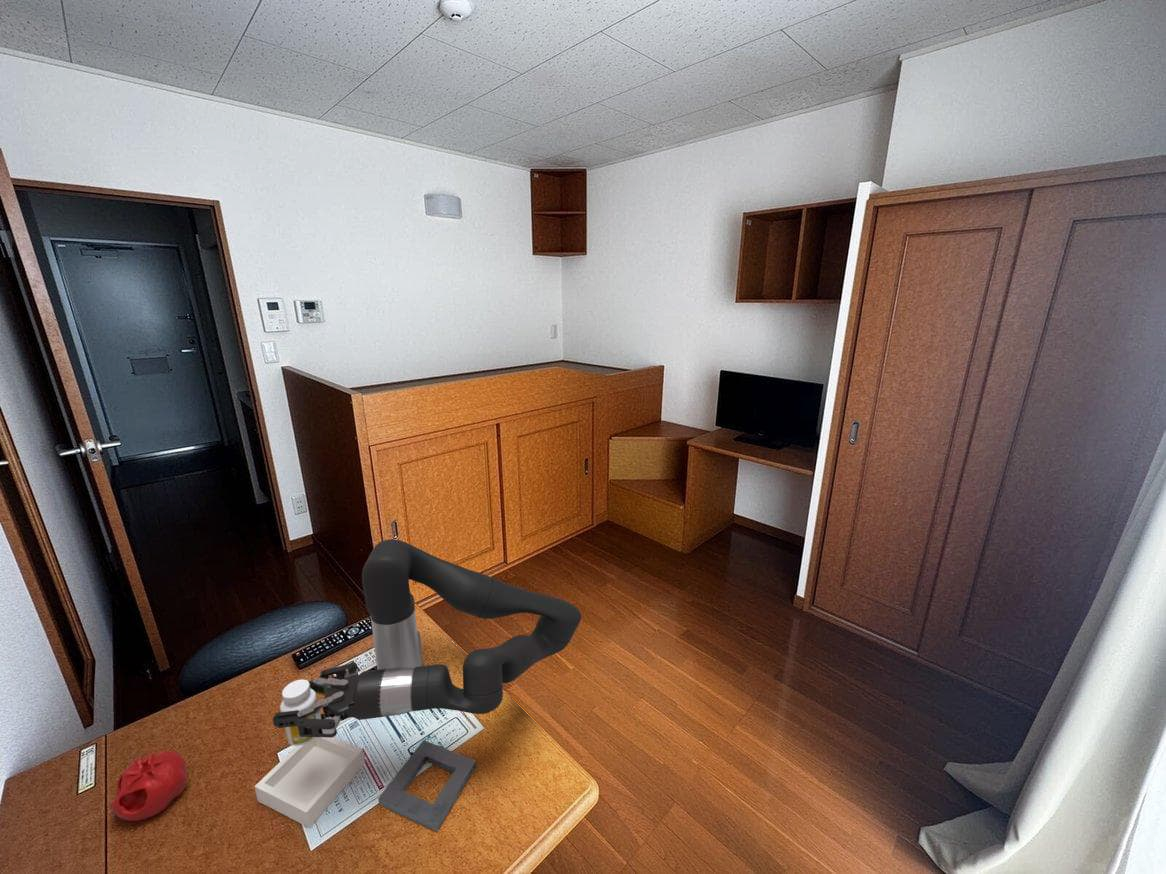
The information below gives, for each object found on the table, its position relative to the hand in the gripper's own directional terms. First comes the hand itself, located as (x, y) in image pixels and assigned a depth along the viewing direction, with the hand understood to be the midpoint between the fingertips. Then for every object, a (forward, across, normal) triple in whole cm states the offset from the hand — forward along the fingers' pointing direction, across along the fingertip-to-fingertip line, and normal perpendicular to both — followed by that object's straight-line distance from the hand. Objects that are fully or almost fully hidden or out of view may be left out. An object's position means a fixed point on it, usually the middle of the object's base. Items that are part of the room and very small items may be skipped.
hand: (282, 704), depth 79 cm
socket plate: (-23, -4, -18) cm, 30 cm away
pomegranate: (+24, +1, -18) cm, 30 cm away
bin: (-2, 0, -18) cm, 18 cm away
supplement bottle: (-3, 0, -7) cm, 7 cm away
